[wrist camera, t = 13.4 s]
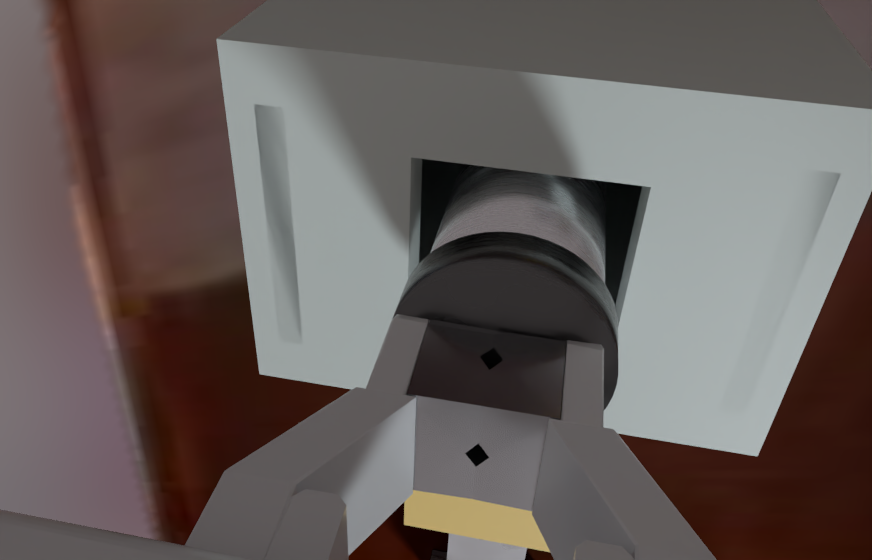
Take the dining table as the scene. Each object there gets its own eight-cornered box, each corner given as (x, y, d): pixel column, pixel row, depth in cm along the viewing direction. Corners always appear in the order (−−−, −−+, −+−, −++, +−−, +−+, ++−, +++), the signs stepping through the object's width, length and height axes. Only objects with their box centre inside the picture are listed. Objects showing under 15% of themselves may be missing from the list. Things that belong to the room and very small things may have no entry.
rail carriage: (586, 384, 25) (579, 557, 20) (436, 360, 26) (391, 522, 21) (613, 261, 22) (614, 425, 17) (443, 238, 23) (392, 388, 18)
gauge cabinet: (705, 201, 23) (757, 456, 15) (359, 158, 24) (232, 369, 16) (777, -50, 18) (905, 113, 10) (354, -85, 20) (179, 35, 12)
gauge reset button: (602, 232, 17) (596, 464, 12) (456, 212, 18) (384, 428, 12) (629, 90, 15) (640, 289, 10) (465, 73, 16) (385, 254, 10)
